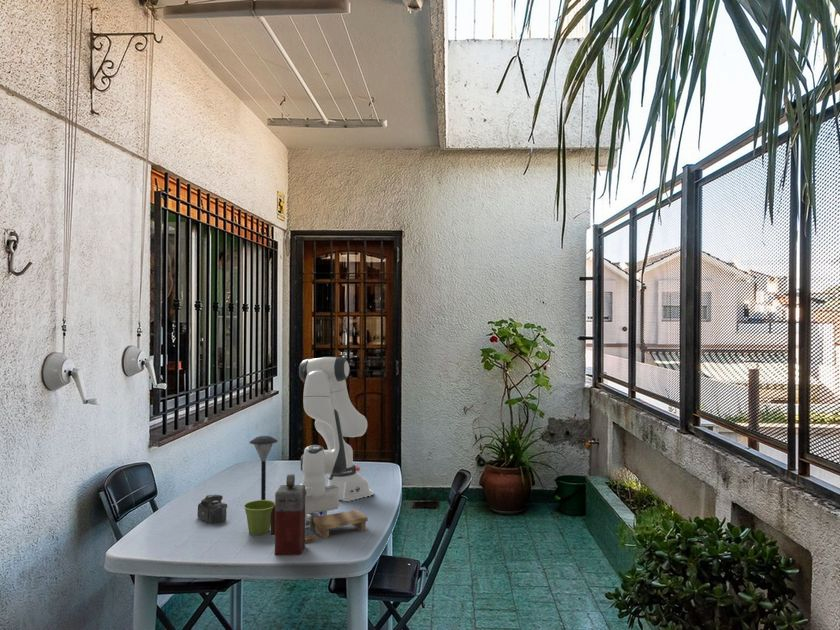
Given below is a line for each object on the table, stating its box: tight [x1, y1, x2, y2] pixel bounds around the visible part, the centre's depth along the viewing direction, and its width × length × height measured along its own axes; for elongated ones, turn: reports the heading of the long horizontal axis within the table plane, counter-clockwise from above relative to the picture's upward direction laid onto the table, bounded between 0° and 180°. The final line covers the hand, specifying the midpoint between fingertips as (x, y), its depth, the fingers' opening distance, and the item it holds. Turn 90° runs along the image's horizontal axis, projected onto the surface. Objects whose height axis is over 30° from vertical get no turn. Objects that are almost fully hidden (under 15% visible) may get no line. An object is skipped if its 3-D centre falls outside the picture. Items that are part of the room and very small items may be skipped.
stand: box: [313, 509, 368, 539], centre depth 222 cm, size 18×10×6 cm, turn 121°
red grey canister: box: [270, 473, 306, 556], centre depth 201 cm, size 9×11×28 cm
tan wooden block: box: [305, 534, 319, 544], centre depth 210 cm, size 5×3×3 cm, turn 128°
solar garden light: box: [248, 435, 279, 500], centre depth 252 cm, size 12×12×30 cm
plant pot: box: [243, 499, 275, 536], centre depth 220 cm, size 12×12×11 cm
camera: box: [196, 494, 228, 524], centre depth 236 cm, size 13×10×10 cm
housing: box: [305, 512, 321, 531], centre depth 227 cm, size 5×8×6 cm, turn 28°
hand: (313, 523), depth 227 cm, fingers closed on housing, 5 cm apart
